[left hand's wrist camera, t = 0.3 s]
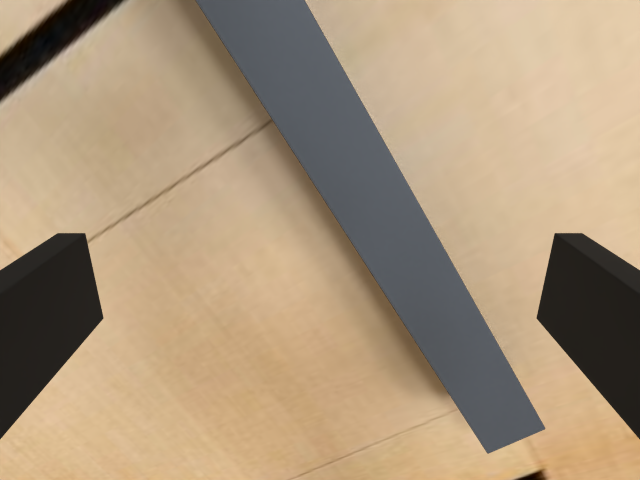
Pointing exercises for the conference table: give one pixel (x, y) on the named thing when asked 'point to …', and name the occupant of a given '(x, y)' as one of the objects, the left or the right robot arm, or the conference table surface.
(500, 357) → the post
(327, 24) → the conference table surface
